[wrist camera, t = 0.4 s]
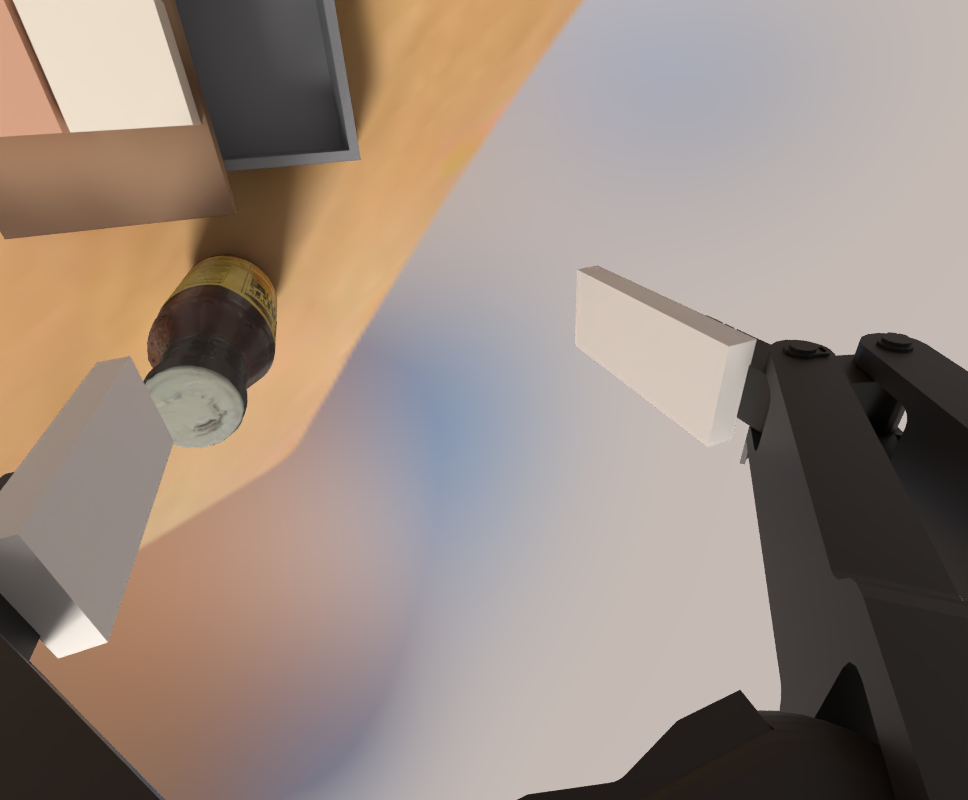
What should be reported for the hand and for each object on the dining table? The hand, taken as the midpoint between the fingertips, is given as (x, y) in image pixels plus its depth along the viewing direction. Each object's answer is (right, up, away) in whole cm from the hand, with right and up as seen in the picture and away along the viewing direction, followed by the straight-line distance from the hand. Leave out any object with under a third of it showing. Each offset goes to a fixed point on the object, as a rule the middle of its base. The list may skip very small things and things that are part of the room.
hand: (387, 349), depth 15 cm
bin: (-13, +20, +16) cm, 29 cm away
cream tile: (-14, +15, +9) cm, 22 cm away
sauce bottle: (-16, +7, +22) cm, 29 cm away
